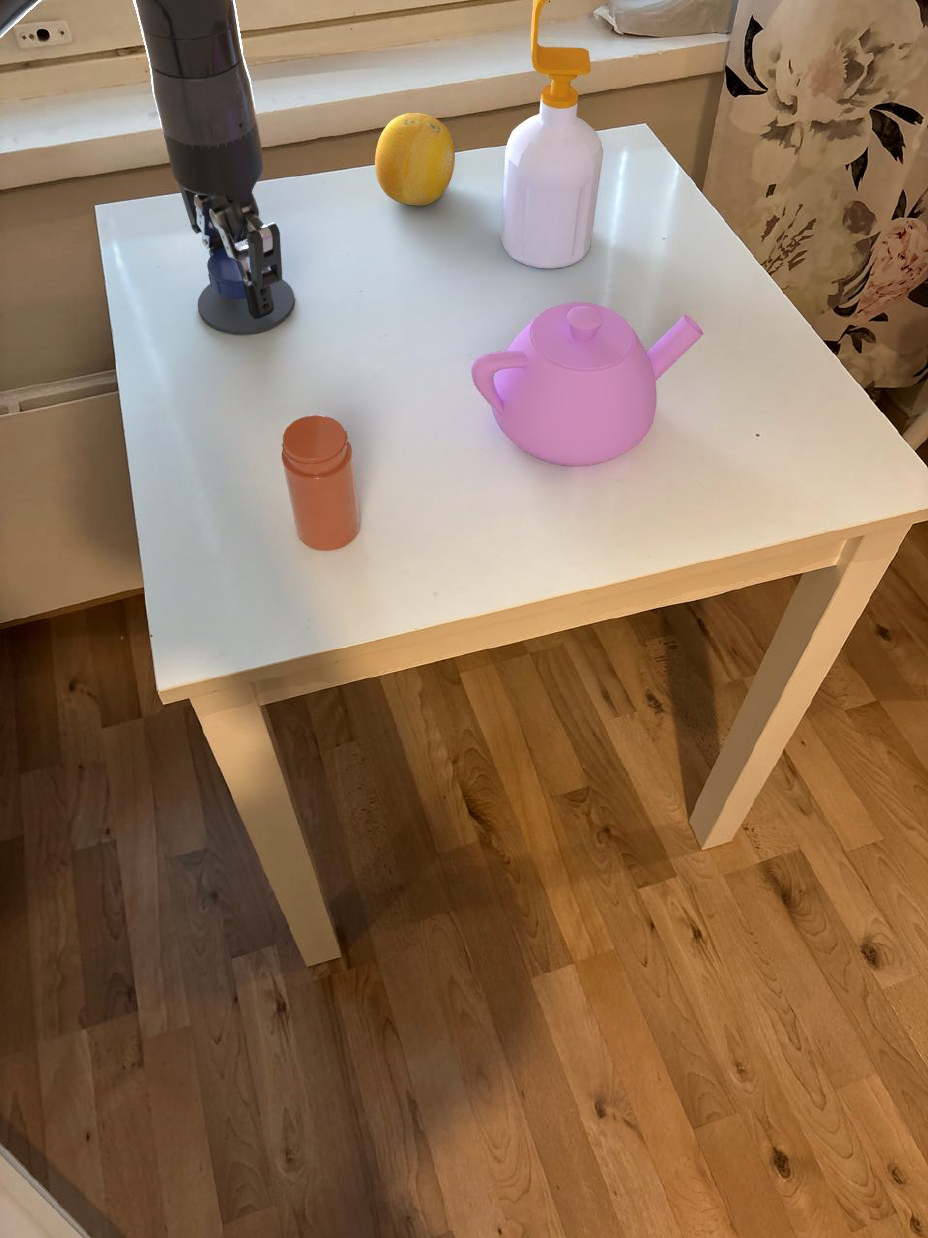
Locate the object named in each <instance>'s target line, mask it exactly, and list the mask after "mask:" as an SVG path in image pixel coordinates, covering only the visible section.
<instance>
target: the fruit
mask: <svg viewBox="0 0 928 1238" xmlns="http://www.w3.org/2000/svg"><path fill="white" fill-rule="evenodd" d="M455 158H456V156H455V146H454V141H453V138H452V135H451V133H450V131H449V129H448V128H447V126H445V124H443V122H442V121H440V120H439V119H437V118H436V117H434V116H432V115H428V114H426V113H420V112H407V113H404V114H401V115H398V116H396V117H395V118H393V119H391V121H389V123H388V124H387V125H386V126H385V127H384V128H383V131H382V132H381V134H380V136H379V138H378V141H377V144H376V149H375V157H374V168H375V169H374V170H375V175H376V178H377V181H378V184H379V187H380V188H381V189H382V191H383V192H384V193H385V195H386V196H388V197H389V198H390V199H391V200H393V201H395V202H398V203H401V204H404V205H408V206H409V205H410V206H417V207H419V206H420V207H422V206H427V205H431V204H433V203H434V202H435V201H437V200H438V199H440V197H441V196H442V195H443V194H444V193H445V191H446V190H447V188H448V186H449V184H450V182H451V180H452V178H453V173H454V169H455V161H456V160H455Z"/></svg>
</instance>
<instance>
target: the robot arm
mask: <svg viewBox="0 0 928 1238" xmlns="http://www.w3.org/2000/svg"><path fill="white" fill-rule="evenodd" d="M41 1H42V0H0V39H1V38H2V37H3V36H4V35H5V34H6V33H7V32H8V31H9V30H11V28H12V27H13V26H15V24H17V23H18V22H19V21H20V20H21V19H22V18H23V17H24V16H25V15H26V14H27V13H28V12H30V10H32V9H33V8H34V7H36V5H37V4H39V3H40V2H41ZM132 1H133V4H134V7H135V10H136V14H137V18H138V22H139V25H140V30H141V35H142V38H143V42H144V46H145V50H146V54H147V58H148V64H149V69H150V76H151V87H152V94H153V97H154V102H155V106H156V111H157V114H158V119H159V123H160V127H161V131H162V135H163V140H164V143H165V147H166V152H167V155H168V159H169V163H170V168H171V172H172V175H173V179H174V180H175V181H176V183H177V184H178V187H179V191H180V194H181V197H182V200H183V204H184V207H185V210H186V213H187V217H188V220H189V222H190V223H189V224H190V227H191V229H192V231H193V232H194V233H195V234H196V235H197V234H199V233H200V234H201V242H202V244H203V246H204V247H205V248H206V249H207V250H208V253H209V257H210V256H211V255H212V254H213V253H215V252H216V251H218V250H219V249H221V248H224V247H225V249H226V252H227V254H228V257H229V258H230V259H231V260H234V261H236V263H237V266H238V268H239V271H240V274H241V276H242V280H243V284H244V289H245V294H246V299H247V304H248V309H249V313H250V315H251V316H252V317H253V318H255V319H259V318H261V317H263V316H266V315H268V314H270V313H272V311H273V310H274V306H273V300H272V294H271V289H270V285H272V284H274V283H277V282H279V281H281V280H282V279H283V265H282V263H283V262H282V247H281V246H282V245H281V232H280V229H279V227H278V225H277V224H276V222H274V221H273V222H271V223H268V224H264V222H263V221H262V220H261V218H260V208H259V206H258V202H257V199H256V198H255V196H254V194H253V190H254V188H255V186H256V184H257V182H258V181H259V180H260V178H261V177H262V175H263V173H264V170H265V160H264V154H263V147H262V142H261V141H262V140H261V135H260V128H259V123H258V116H257V110H256V104H255V98H254V92H253V87H252V81H251V77H250V74H249V70H248V67H247V64H246V60H245V57H244V51H243V44H242V38H241V33H240V27H239V20H238V15H237V8H236V3H235V0H132ZM243 241H245V244H246V245H245V246H243V247H240V248H238V249H237V248H236V246H235V245H236V244H239V243H241V242H243ZM248 257H249V263H250V270H249V268H248V265H247V262H246V259H247V258H248Z"/></svg>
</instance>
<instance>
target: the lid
mask: <svg viewBox="0 0 928 1238" xmlns="http://www.w3.org/2000/svg"><path fill="white" fill-rule="evenodd" d="M245 245H246V243H245V244H244V243H236V244H235V246H236V248H237V249H238V248H240V247H243V246H245ZM246 262H247V265H248V268H249V270H250V263H249V257H248V258H247V259H246ZM206 268H207V272H208V274H207V275H208V279H209V280H208V281H209V284H211V287H213V289H214V290H215V291H216V292H217V293H218V294H219V295H222V296H224V297H227V298H232V299H245V298H246V294H245V289H244V284H243V280H242V276H241V274H240V271H239V268H238V266H237V263H236V261H234V260H231V259H230V258H229V257H228V254H227V252H226V249H225V247H224V248H221V249H219V250H218V251H216V252H215V253H213V254H212V255H211V256H210V255H209V258H208V260H207V263H206Z"/></svg>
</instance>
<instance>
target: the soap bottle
mask: <svg viewBox="0 0 928 1238" xmlns="http://www.w3.org/2000/svg"><path fill="white" fill-rule="evenodd" d="M549 1H550V0H532V9H531V10H532V11H531V13H532V14H531V24H530V25H531V26H530V53H531V64H532V68H533V69H534V70H535V71H536V73H539V74H542V75H546V77H547V78H548V79H550V80H551V84H549V85H546V86H545V87H544V88H542V90H541V95H540V101H539V102H540V105H539V113H538V114H536V115H533V116H531V117H528V118H527V119H525V120H524V121H523V122H521V123H520V124H519V125H517V126H516V127H515V128H514V129H513V130H512V131H511V134H510V136H509V138H508V141H507V143H506V147H505V150H504V151H505V152H504V153H505V154H504V170H503V173H504V174H503V187H502V189H503V190H502V193H503V194H502V207H501V209H502V210H501V226H500V227H501V229H500V241H501V243H502V246H503V249H504V251H505V252H506V253H507V254H508V255H509V256H510V258H512V259H513V260H515V261H517V262H519V263H521V264H523V265H525V266H529V267H533V268H537V269H559V268H564V267H570V266H572V265H574V264H576V263H578V262H580V261H582V259H584V257H585V256H586V255H587V254H588V252H589V251H590V250H591V249H590V248H591V243H592V237H593V231H594V223H595V215H596V209H597V201H598V196H599V195H598V194H599V193H598V192H599V188H600V187H599V186H600V179H601V174H602V173H601V172H602V166H603V158H604V157H603V156H604V148H603V143H602V141H601V138H600V136H599V133H598V132H597V131H596V130H595V129H594V128H593V127H592V126H591V125H590V124H589V123H587V122H586V121H585V120H584V119H582V118H580V117H578V116H577V115H578V114H577V113H578V105H579V91H578V90H577V89H576V88H575V87H573V86H571V82H572V81H574V80H576V79H577V78H578V76H585V75H589V74H590V73H591V69H592V66H591V58H590V51H589V50H588V49H586V48H584V47H565V46H564V47H563V46H542V45H540V44H539V43H538V40H539V25H540V16H541V13H542V9H543V7H544V5H545V4H546V3H548V2H549Z"/></svg>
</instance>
